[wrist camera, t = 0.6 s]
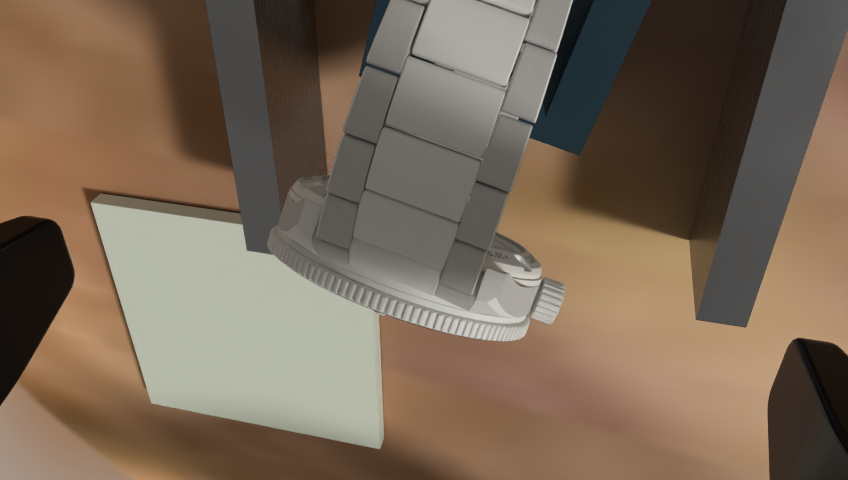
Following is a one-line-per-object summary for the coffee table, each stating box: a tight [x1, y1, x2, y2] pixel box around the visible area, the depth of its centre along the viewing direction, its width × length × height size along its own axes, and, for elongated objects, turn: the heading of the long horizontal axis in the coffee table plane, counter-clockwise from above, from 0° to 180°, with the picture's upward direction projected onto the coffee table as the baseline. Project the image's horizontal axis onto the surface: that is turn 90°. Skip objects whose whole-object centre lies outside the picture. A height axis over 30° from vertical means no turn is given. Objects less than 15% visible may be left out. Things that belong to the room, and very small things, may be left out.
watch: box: [267, 0, 652, 341], centre depth 14 cm, size 6×8×11 cm
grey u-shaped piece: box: [205, 0, 848, 327], centre depth 17 cm, size 13×13×4 cm
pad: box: [91, 194, 384, 449], centre depth 28 cm, size 10×10×1 cm
